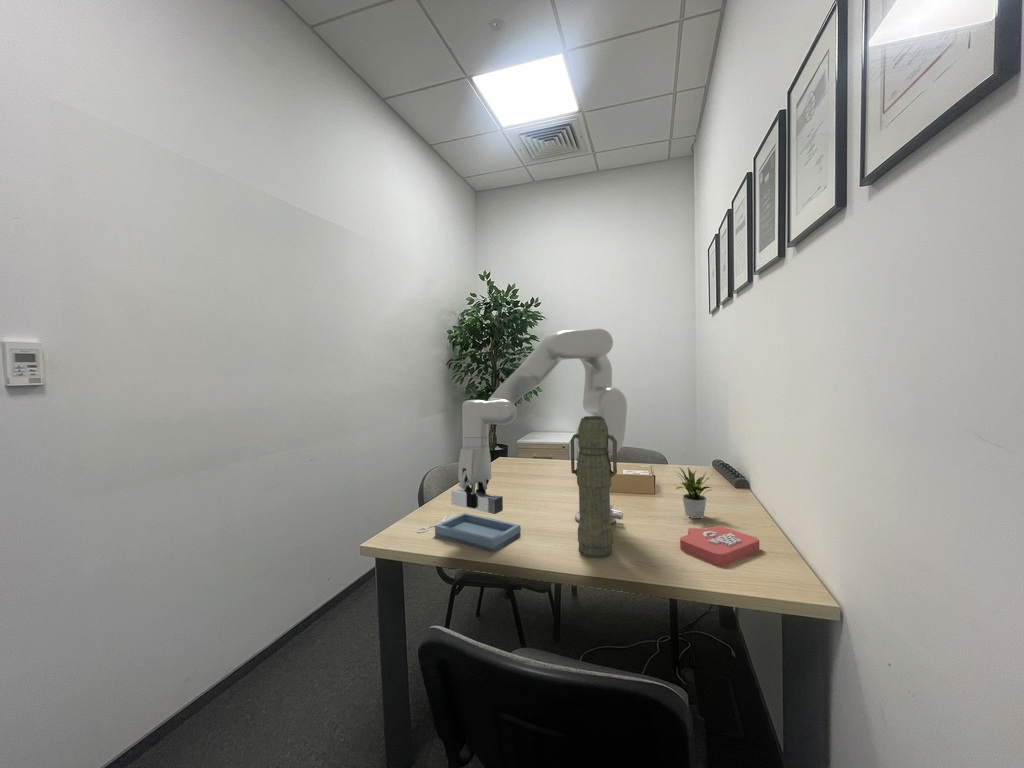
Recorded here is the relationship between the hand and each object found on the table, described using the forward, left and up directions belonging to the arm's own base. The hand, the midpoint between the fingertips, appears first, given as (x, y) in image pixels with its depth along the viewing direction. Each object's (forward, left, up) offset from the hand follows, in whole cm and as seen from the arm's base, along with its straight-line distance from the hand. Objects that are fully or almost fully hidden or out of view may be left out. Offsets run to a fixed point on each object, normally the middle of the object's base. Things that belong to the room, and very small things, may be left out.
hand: (476, 504), depth 114 cm
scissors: (+16, -2, -10) cm, 19 cm away
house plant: (-49, -49, -9) cm, 70 cm away
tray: (0, 0, -9) cm, 9 cm away
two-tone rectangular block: (0, 0, -1) cm, 1 cm away
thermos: (-33, -8, -9) cm, 35 cm away
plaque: (-59, -26, -10) cm, 65 cm away
